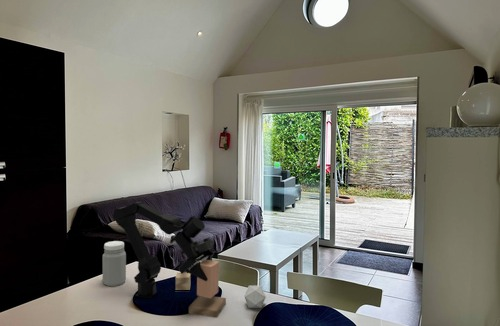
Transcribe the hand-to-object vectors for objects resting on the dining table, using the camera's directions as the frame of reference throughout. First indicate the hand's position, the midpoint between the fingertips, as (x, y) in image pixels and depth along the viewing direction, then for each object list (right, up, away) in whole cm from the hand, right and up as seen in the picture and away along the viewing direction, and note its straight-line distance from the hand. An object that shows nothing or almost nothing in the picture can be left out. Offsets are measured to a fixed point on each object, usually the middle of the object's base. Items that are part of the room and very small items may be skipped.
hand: (211, 277), depth 134 cm
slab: (-1, -13, +1) cm, 13 cm away
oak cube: (-14, -11, +20) cm, 27 cm away
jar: (-46, -10, +24) cm, 53 cm away
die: (+17, -13, +4) cm, 22 cm away
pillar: (-1, -7, +1) cm, 7 cm away
